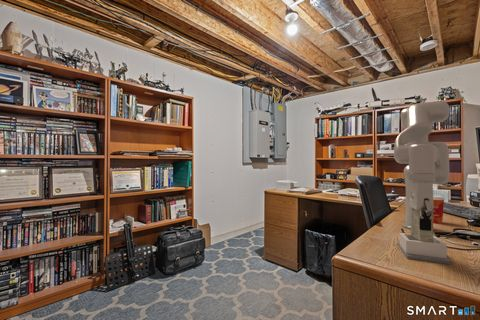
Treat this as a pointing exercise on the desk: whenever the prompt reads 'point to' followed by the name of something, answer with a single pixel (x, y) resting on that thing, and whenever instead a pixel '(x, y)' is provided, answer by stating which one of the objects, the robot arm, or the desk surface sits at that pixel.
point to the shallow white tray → (423, 249)
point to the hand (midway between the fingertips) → (421, 226)
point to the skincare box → (415, 230)
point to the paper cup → (438, 209)
